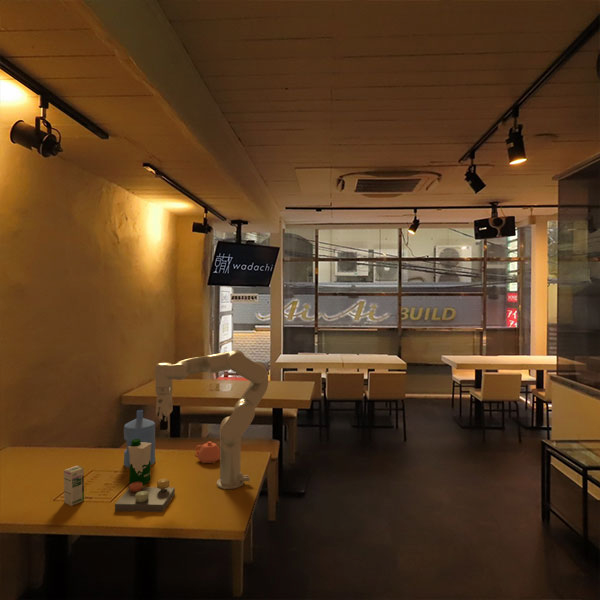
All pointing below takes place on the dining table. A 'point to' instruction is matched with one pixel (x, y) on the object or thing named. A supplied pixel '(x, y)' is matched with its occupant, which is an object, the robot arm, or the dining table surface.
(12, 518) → the dining table surface
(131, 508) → the plate
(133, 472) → the milk carton
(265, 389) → the robot arm
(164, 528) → the dining table surface
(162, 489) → the tan rounded piece
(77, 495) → the syrup box
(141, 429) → the water jug
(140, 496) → the pale green ball
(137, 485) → the red rounded lump
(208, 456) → the sugar bowl
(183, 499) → the dining table surface
